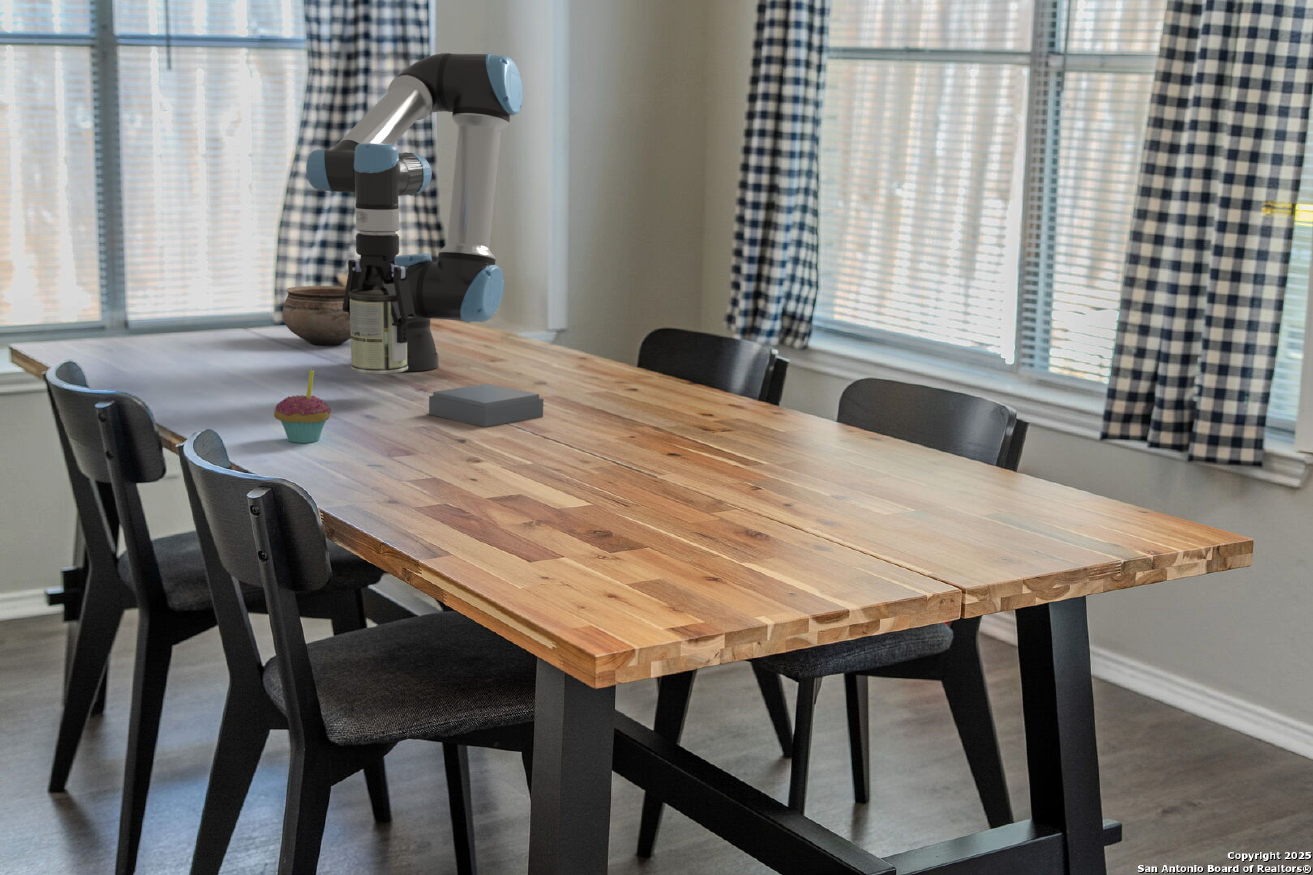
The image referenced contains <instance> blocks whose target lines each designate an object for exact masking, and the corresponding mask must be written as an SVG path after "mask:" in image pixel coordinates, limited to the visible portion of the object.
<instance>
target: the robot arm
mask: <svg viewBox="0 0 1313 875" xmlns="http://www.w3.org/2000/svg"><path fill="white" fill-rule="evenodd" d="M523 94H524V92H523V83H522V77H521V75H520V71H519V69H518V67H517V64H516V62H514V60H513V59H511V58H510V57H509V56H506V55H502V54H501V55H500V54H499V55H497V54H492V53H448V52H445V53H444V52H442V53H436V54H432V55H429V56H426V57H424V58H421V59H420V60H418V61H416V62H414V63H412V64H411V65H410V66H408V67H407V68H405V69H404V70H402V71H401V72H400V73H399V74H397V75H396V76H395V77H394V78H393V79H392V80H391V81H390V83H389V85H388V88H387V92H386V94H385V95H384V96H383V97H382V98H381V99H380V100H379V101H378V102H377V103H376V104H375V105H374V106H373V107H372V108H371V109H370V110H369V111H368V112H367V113H366V114H365V115H364V117H362V118H361V120H359V121H358V122H357V123H356V124H355V126H354V127H353V128H351V130H350V131H349V132H347V134H346V135H345V136H344V137H343V138H342V139H341V140H339V142H338V143H337V144H336V145H335V146H334V147H333V148H332V149H327V148H323V149H316V150H313V151H312V152H311V153H310V154H309V155H308V157H307V160H306V166H305V170H306V173H305V174H306V176H307V180H308V183H309V184H310V186H312V188H314V189H315V190H319V191H326V192H330V193H334V192H335V193H354V195H355V196H354V197H355V230H357V231H358V233H356V235H355V253H356V254H357V255H358V256H360V258H357V259H349V260H348V261H347V266H348V268H347V270H348V273H347V280H346V283H345V284H346V285H345V287H346V290H345V296H344V301H343V307H342V309H343V311H344V312H348V313H349V315H350V305H349V304H350V297H349V291H351V290H355V289H357V290H358V291H369V290H373V288H379V289H380V290H381V291H383V293H384V295H395V294H396V297H397V301H391V315H392V317H393V320H394V322H393V323H392V325H391V354H392V361H393V362H396V361H403V360H406V343H407V345H408V369H407V370H406V371H405V372H420V371H421V372H422V371H429V370H435V369H437V368H438V367H439V365H440V364H439V362H440V361H439V360H440V359H439V358H440V357H439V354H438V352H437V348H436V344H435V340H434V337H433V334H432V331H431V330H432V329H431V319H434V320H435V319H436V320H446V321H447V320H448V321H456V322H457V321H459V322H464V323H473V322H476V323H484V322H487V321H489V320H490V319H492V318H493V316H494V315H495V313H497V311H498V309H499V307H500V304H501V303H502V299H503V295H504V290H505V289H504V288H505V280H504V273H503V270H502V269H501V268H500V267H499V266H498V265H496V262H497V261H496V258H497V257H495V255H494V254H493V253H492V252H491V249H490V244H491V234H492V224H493V217H494V216H493V213H494V206H495V194H496V186H497V176H498V175H497V174H498V165H499V155H500V154H499V153H500V145H501V135H502V132H503V131H504V130H506V129H507V128H508V127H509V126H510V120H511V119H510V118H511V116H515V115H517V114H519V113H520V111H521V108H522V106H523V99H524V95H523ZM438 112H442V113H443V112H444V113H445V112H448V113H452V116H451V119H452V120H453V122H454V123H455V124H456V126H457V127H458V130H457V131H458V132H457V138H456V140H457V141H456V151H455V152H456V153H455V160H454V161H455V162H454V170H453V171H454V172H453V180H452V181H453V182H452V190H451V198H450V199H451V200H450V212H449V221H448V232H447V240H446V244H445V246H444V247H442V248H441V249H440V250H438V255H437V261H433V258H432V256H431V254H430V253H414V254H404V255H403V254H401V255H399V253H400V235H399V234H398V233H397V232H398V231H399V230H400V212H399V211H400V208H399V196H400V197H401V196H411V197H412V196H414V195H416V194H420V193H422V192H425V190H427V189H428V187H429V185H430V184H431V181H432V175H433V174H432V169H431V168H432V167H431V165H430V162H428V161H427V159H426V158H425V157H424V156H422V155H420V154H418V153H415V152H401V153H400V152H399V149H398V147H397V146H396V145H395V144H396V143H397V141H398V140H400V138H401V137H402V136H403V135H404V134H405V133H406V132H407V131H408V129H410V128H411V126H413V125H414V124H415V122H416V121H421V120H423V119H425V118H427V117H428V116H429V115H430V114H432V113H438ZM399 316H400V317H401V318H399Z"/></svg>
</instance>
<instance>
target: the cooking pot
mask: <svg viewBox="0 0 1313 875" xmlns="http://www.w3.org/2000/svg"><path fill="white" fill-rule="evenodd" d="M345 290H346V286H337V285H335V286H334V285H305V286H294V287H292V286H291V287H289V288H288V287H287V288H286V289H285V291H286V292H287V294H288V295H287V296H286V299H285V301H284V305H283V308H282V313H281V314H282V319H283V323H284V324H285V325H286V327H287V328H288V330H289V331H291V333H293V334H294V335H296V336H297V337H298V338H300V339H302V340H304V341H306V342H307V343H309V344H310V345H312V346H318V347H338V346H341V345H342V344H344V343H346V342H347V341H349V340H351V330H350V315H349V313H348V312H344V311H343V309H342V307H343V301H344V296H345ZM349 305H350V304H349Z"/></svg>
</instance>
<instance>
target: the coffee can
mask: <svg viewBox="0 0 1313 875" xmlns="http://www.w3.org/2000/svg"><path fill="white" fill-rule="evenodd" d="M349 297H350V330H351V339H350V356H351V357H350V362H351V367H350V370H351V371H353V372H354V373H359V374H368V375H390V374H398V373H402V372H407V371H406V370H407V369H408V345H407V343H406V360H403V361H396V362H393V361H392V354H391V325H392V323H393V322H394V320H393V317H392V315H391V301H397V297H396V294H395V295H384V293H383V291H381V290H380V289H379V288H373V290H369V291H358V290H357V289H355V290H351V291H349ZM399 318H401V317H400V316H399Z"/></svg>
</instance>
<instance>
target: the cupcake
mask: <svg viewBox="0 0 1313 875" xmlns="http://www.w3.org/2000/svg"><path fill="white" fill-rule="evenodd" d="M314 367H315V366H314V365H313V366H312V367H311V370H309V372H308V373H309V374H308V380H307V381H308V382H307V391H306V395H305V394H304V395H303V394H301V395H298V394H297V395H292V396H290V395H289V396H287V397H286V398H283V400H281V401H279V402H278V403H277V404H276V406H275V409H274V411H273V412H274V413H273V416H274V419H276V420H278V421H280V422H281V425H282V426H283V429H284V432H285V434H286V437H287V438H286V439H287V440H288V441H289V442H291V443H295V444H310V443H316V442H318V441H319V440H320V438H321V434H322V431H323V428H324V426H325V423H326V421H327V420H329V419H330V415H331V413H332V408H330V406H329V404H328V403H327V402H326V401H324V400H323V399H322V398H321V399H320V397H317V396H315V395H312V390H313V381H314V374H315V371H314Z"/></svg>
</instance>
